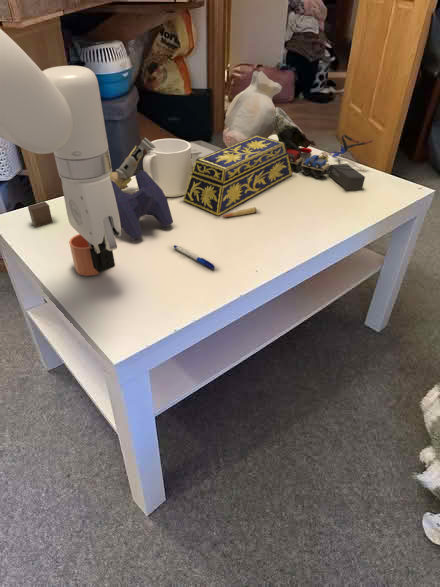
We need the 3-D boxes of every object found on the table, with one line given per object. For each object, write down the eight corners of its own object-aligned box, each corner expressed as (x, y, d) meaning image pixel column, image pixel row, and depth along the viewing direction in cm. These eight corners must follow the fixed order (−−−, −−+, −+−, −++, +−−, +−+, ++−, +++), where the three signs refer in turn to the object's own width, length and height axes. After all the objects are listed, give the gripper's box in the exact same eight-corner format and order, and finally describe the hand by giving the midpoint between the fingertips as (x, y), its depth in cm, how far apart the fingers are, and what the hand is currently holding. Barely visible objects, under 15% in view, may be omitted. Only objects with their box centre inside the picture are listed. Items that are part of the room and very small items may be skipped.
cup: (78, 278, 76) (72, 251, 73) (73, 262, 80) (66, 236, 77) (109, 271, 78) (105, 244, 75) (103, 256, 82) (98, 230, 79)
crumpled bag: (237, 126, 136) (203, 106, 125) (286, 84, 125) (253, 59, 114) (251, 168, 131) (216, 152, 120) (302, 129, 119) (269, 107, 108)
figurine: (185, 224, 90) (173, 169, 85) (136, 245, 83) (120, 186, 78) (153, 219, 98) (141, 167, 93) (106, 237, 91) (90, 183, 86)
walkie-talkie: (349, 176, 104) (313, 150, 120) (345, 190, 106) (311, 163, 122) (366, 175, 105) (329, 150, 121) (363, 189, 107) (326, 162, 123)
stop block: (52, 222, 92) (48, 204, 90) (36, 227, 90) (31, 209, 88) (49, 218, 93) (44, 201, 91) (32, 223, 91) (27, 206, 89)
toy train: (259, 156, 124) (261, 138, 121) (331, 176, 113) (335, 157, 110) (252, 160, 121) (253, 141, 118) (324, 181, 111) (328, 161, 108)
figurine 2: (304, 184, 122) (365, 166, 126) (319, 184, 114) (385, 164, 118) (297, 146, 119) (360, 129, 123) (312, 143, 111) (379, 125, 115)
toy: (160, 146, 100) (123, 192, 107) (142, 130, 99) (106, 178, 105) (152, 155, 93) (113, 204, 100) (133, 138, 92) (95, 189, 98)
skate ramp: (200, 140, 123) (199, 158, 126) (162, 145, 115) (162, 165, 118) (238, 155, 114) (236, 174, 117) (200, 161, 106) (198, 182, 109)
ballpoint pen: (216, 268, 79) (216, 263, 78) (212, 270, 78) (212, 265, 78) (175, 247, 84) (175, 242, 84) (172, 249, 84) (171, 244, 83)
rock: (317, 143, 110) (282, 92, 108) (293, 161, 112) (258, 112, 110) (315, 145, 125) (284, 100, 123) (294, 161, 127) (263, 118, 125)
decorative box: (292, 175, 114) (296, 139, 108) (218, 215, 95) (218, 175, 89) (258, 164, 119) (260, 130, 113) (181, 201, 100) (180, 162, 95)
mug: (171, 176, 112) (168, 135, 105) (200, 187, 106) (199, 145, 100) (133, 192, 104) (128, 149, 98) (163, 204, 99) (160, 160, 93)
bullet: (254, 207, 97) (256, 207, 96) (254, 212, 97) (256, 212, 96) (220, 213, 95) (222, 213, 94) (221, 218, 95) (223, 219, 94)
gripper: (39, 154, 66) (65, 256, 77) (82, 187, 57) (104, 297, 68) (85, 143, 70) (104, 242, 81) (132, 172, 61) (146, 279, 72)
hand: (104, 267), depth 75 cm, fingers closed
